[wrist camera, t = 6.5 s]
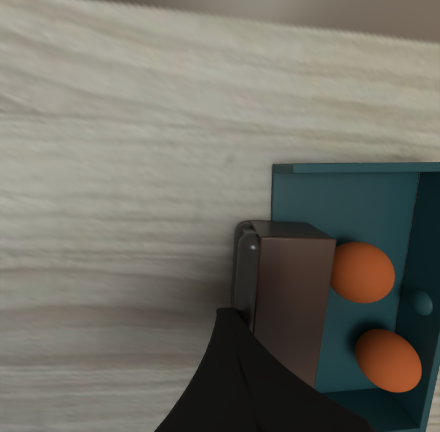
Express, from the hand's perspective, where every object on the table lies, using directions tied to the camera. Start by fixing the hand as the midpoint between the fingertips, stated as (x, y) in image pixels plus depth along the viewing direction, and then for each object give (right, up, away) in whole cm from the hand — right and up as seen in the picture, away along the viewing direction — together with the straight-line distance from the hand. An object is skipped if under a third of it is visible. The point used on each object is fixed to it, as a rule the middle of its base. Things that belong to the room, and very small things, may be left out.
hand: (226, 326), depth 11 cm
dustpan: (+10, +1, +3) cm, 11 cm away
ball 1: (+7, +2, +1) cm, 7 cm away
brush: (0, 0, +1) cm, 1 cm away
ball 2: (+9, -3, +2) cm, 10 cm away
